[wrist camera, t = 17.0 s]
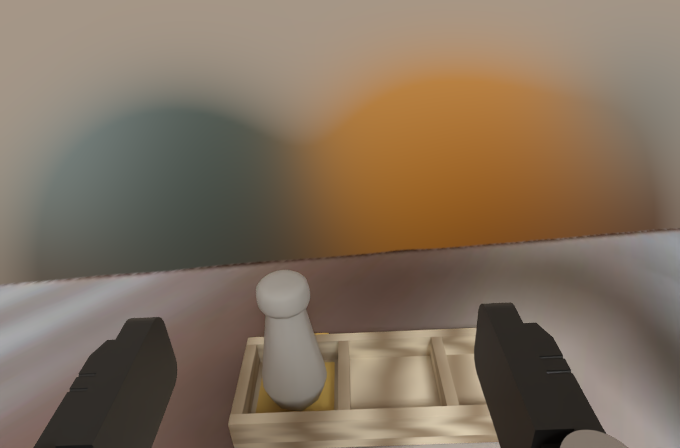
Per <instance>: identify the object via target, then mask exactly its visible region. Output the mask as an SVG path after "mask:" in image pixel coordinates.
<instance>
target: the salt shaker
mask: <svg viewBox="0 0 680 448" xmlns="http://www.w3.org/2000/svg"><path fill="white" fill-rule="evenodd" d="M256 299H257V304H258V307H259V309H260V310H261V311H262V312H263V313H264V314H265V332H264V349H263V366H262V379H263V387H264V389H265V391H266V392H267V393H268V395H269V396H270V397H271V398H272V400H273V401H274V402H275V403H277V404H278V405H279V406H280V407H281V408H282V409H288V410H294V411H300V412H301V411H303V410H304V409H306V408H307V407H309V406H310V405H312V404H313V403H315V402H316V401H318V398H319V396H320V394H321V392H322V390H323V387H324V384H325V381H326V378H327V371H326V367H325V363H324V360H323V357H322V354H321V352H320V349H319V346H318V343H317V340H316V337H315V334H314V331H313V328H312V325H311V322H310V319H309V316H308V313H307V311H306V308H307V305H308V303H309V300H310V290H309V286H308V283H307V280H306V278H305V277H304V276H302V275H301V274H300V273H298V272H295V271H291V270H278V271H275V272H272V273H270V274H268V275H267V276H265V277H264V278H263V279H261V280H260V282H259V283H258V285H257V287H256Z"/></svg>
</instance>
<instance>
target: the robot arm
mask: <svg viewBox="0 0 680 448" xmlns="http://www.w3.org/2000/svg"><path fill="white" fill-rule="evenodd" d="M474 361H475V368H476V372H477V376H478V379H479V382H480V385H481V388H482V391H483V394H484V397H485V400H486V404H487V407H488V410H489V413H490V416H491V419H492V422H493V425H494V428H495V431H496V434H497V438H498V441H499V444H500V447H501V448H628V447H627V446H625V445H624V444H623V443H622V442H620V441H619V440H617V439H615V438H614V437H612V436H610V435H607V434H606V432H605V431H604V429H603V428H602V426H601V424H600V422H599V420H598V418H597V417H596V415H595V413H594V411H593V409H592V408H591V406H590V404H589V402H588V400H587V398H586V397H585V395H584V393H583V391H582V389H581V388H580V386H579V384H578V382H577V380H576V378H575V377H574V375H573V373H571V369H570V368H569V366H568V364H567V362H566V360H565V359H563V355H562V353H561V351H560V349H559V347H558V346H557V344H556V342H555V340H554V338H553V337H552V336H551V335H550V334H548V333H547V332H546V331H545V330H544V329H543V328H542V327H540V326H539V325H538V324H537V323H523V322H522V320H521V318H520V316H519V314H518V312H517V310H516V308H515V306H514V305H513V304H512V303H491V304H481V305H480V307H479V311H478V320H477V328H476V336H475V345H474ZM176 378H177V362H176V358H175V355H174V352H173V348H172V345H171V342H170V339H169V336H168V333H167V330H166V327H165V324H164V321H163V320H162V318H160V317H152V318H131V319H128V320H127V321H126V323H125V324H124V326H123V328H122V329H121V331H120V333H119V335H118V336H117V338H116V340H107V341H106V342H105V343H103V344H102V345H101V346H100V347H99V348H98V349H97V350H96V351H95V352H93V353H92V354H91V355H90V356H89V358H88V359H87V361H86V363H85V364H84V366H83V368H82V369H81V371H80V372H79V377H76V379H75V381H74V382H73V384H72V386H71V387H70V392H67V394H66V395H65V397H64V399H63V400H62V402H61V404H60V405H59V407H58V408H57V410H56V412H55V413H54V415H53V417H52V418H51V420H50V422H49V423H48V425H47V426H46V428H45V430H44V431H43V433H42V435H41V436H40V438H39V440H38V441H37V443H36V444H35V446H34V448H151V447H152V445H153V442H154V439H155V437H156V434H157V431H158V429H159V426H160V423H161V421H162V418H163V415H164V413H165V410H166V407H167V405H168V402H169V399H170V397H171V394H172V391H173V389H174V386H175V383H176Z"/></svg>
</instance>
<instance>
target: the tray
mask: <svg viewBox="0 0 680 448" xmlns="http://www.w3.org/2000/svg"><path fill="white" fill-rule="evenodd" d="M314 334H315V337H316V340H317V343H318V346H319V349H320V352H321V354H322V357H323V360H324V363H325V367H326V371H327V378H326V381H325V384H324V387H323V390H322V392H321V394H320V396H319V398H318V401H316V402H315V403H313V404H312V405H310V406H309V407H307V408H306V409H304V410H303V411H301V412H300V411H294V410H288V409H282V408H281V407H280V406H279V405H278V404H277V403H275V402H274V401H273V400H272V398H271V397H270V396H269V395H268V393H267V392H266V391H265V389H264V387H263V379H262V366H263V349H264V337H249V338H248V341H247V345H246V349H245V354H244V358H243V362H242V366H241V371H240V375H239V379H238V384H237V388H236V392H235V396H234V401H233V405H232V409H231V414H230V418H229V422H228V427H229V431H230V434H231V438H232V442H233V446H234V448H342V447H369V446H397V445H424V444H452V443H479V442H499V441H498V438H497V434H496V431H495V428H494V425H493V422H492V419H491V416H490V413H489V410H488V407H487V404H486V400H485V397H484V394H483V391H482V388H481V385H480V382H479V379H478V376H477V372H476V368H475V361H474V345H475V336H476V328H460V329H436V330H413V331H389V332H366V333H343V334H329V333H314Z"/></svg>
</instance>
